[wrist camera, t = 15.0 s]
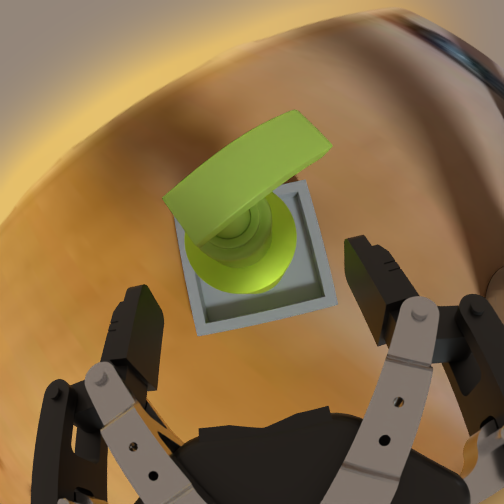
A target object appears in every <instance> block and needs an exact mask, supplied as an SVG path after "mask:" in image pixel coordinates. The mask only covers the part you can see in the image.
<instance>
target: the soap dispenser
mask: <svg viewBox="0 0 504 504" xmlns="http://www.w3.org/2000/svg"><path fill="white" fill-rule="evenodd" d="M331 148H332V144H331V143H330V142H329V141H328V140H327V139H326V138H325V137H324V136H323V135H322V133H321V132H320V131H319V130H318V129H317V128H316V127H315V126H314V125H312V124H311V123H310V122H309V121H308V120H307V119H306V118H305V117H304V116H303V115H302V114H301V113H300V112H299V111H297V110H292V111H289V112H286V113H284V114H282V115H280V116H277V117H275V118H273V119H271V120H269V121H267V122H265V123H263V124H261V125H259V126H257V127H256V128H254V129H252V130H250V131H249V132H247V133H245V134H244V135H242V136H241V137H239V138H237V139H236V140H234V141H233V142H231V143H230V144H228V145H227V146H226V147H224V148H223V149H221V150H220V151H219V152H217V153H216V154H215V155H213V156H212V157H211V158H209V159H208V160H207V161H205V162H204V163H203V164H202V165H200V166H199V167H198V168H197V169H195V170H194V171H193V172H192V173H190V174H189V175H188V176H187V177H186V178H184V179H183V180H182V181H181V182H180V183H178V184H177V185H176V186H175V187H174V188H173V189H171V190H170V191H169V192H168V193H167V194H166V195H165V196H164V197H163V198H162V199H163V201H164V202H165V204H166V205H167V206H168V208H169V209H170V211H171V212H172V214H173V215H174V216H175V218H176V219H177V221H178V222H179V224H180V225H181V226H182V228H183V229H184V231H185V236H184V243H185V250H186V254H187V258H188V260H189V262H190V265H191V266H192V268H193V270H194V271H195V272H196V274H197V275H198V276H199V277H200V278H201V279H202V280H203V281H204V282H206V283H207V284H208V285H210V286H212V287H213V288H215V289H218V290H220V291H223V292H227V293H233V294H259V293H264V292H266V291H269V290H270V289H272V288H273V287H275V286H276V285H277V284H278V283H279V281H280V280H281V278H282V276H283V275H284V273H285V271H286V270H287V268H288V266H289V265H290V263H291V261H292V258H293V256H294V253H295V249H296V242H297V232H296V226H295V222H294V219H293V216H292V214H291V212H290V210H289V208H288V207H287V206H286V204H285V203H284V202H283V201H282V200H281V199H280V198H279V197H278V196H277V195H276V194H275V193H273V192H272V191H273V190H275V189H276V188H277V187H279V186H280V185H282V184H283V183H284V182H286V181H287V180H288V179H290V178H291V177H293V176H294V175H296V174H297V173H299V172H300V171H302V170H303V169H305V168H306V167H308V166H309V165H311V164H312V163H314V162H316V161H317V160H319V159H320V158H322V157H323V156H324V155H325V154H326V153H327V152H328V151H329V150H330V149H331Z"/></svg>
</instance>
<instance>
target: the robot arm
mask: <svg viewBox="0 0 504 504" xmlns="http://www.w3.org/2000/svg"><path fill="white" fill-rule="evenodd" d="M344 261H345V276H346V279H347V282H348V285H349V287H350V289H351V291H352V293H353V295H354V297H355V299H356V301H357V303H358V305H359V307H360V309H361V311H362V314H363V316H364V318H365V320H366V322H367V324H368V326H369V329H370V331H371V333H372V335H373V337H374V340H375V342H376V344H377V346H381V345H384V344H387V346H388V348H389V351H388V354H387V357H386V360H385V363H384V366H383V369H382V371H381V374H380V377H379V380H378V383H377V386H376V388H375V391H374V394H373V396H372V399H371V401H370V404H369V406H368V409H367V411H366V414H365V416H364V419H362V418H360V417H357V416H353V415H349V414H344V413H330V410H329V406H326V407H322V408H318V409H314V410H310V411H306V412H301V413H297V414H294V415H292V416H290V417H288V418H286V419H284V420H281V421H279V422H277V423H275V424H272V425H270V426H268V427H265V428H253V427H242V426H232V425H227V426H219V427H209V428H199V436H198V437H196V438H193V439H191V440H189V441H188V442H186V443H184V442H183V441H182V440H181V439H179V438H178V437H177V436H176V435H175V434H174V433H173V432H172V430H171V429H170V428H169V427H168V425H167V424H166V423H165V422H164V420H163V419H162V418H161V416H160V415H159V414H158V412H157V411H156V410H155V408H154V407H153V406H152V404H151V403H150V401H149V400H148V399H147V398H146V397H147V391H155V390H157V386H158V374H159V364H160V354H161V345H162V336H163V328H164V316H163V313H162V310H161V308H160V306H159V305H158V303H157V301H156V300H155V298H154V296H153V295H152V293H151V291H150V289H149V288H148V286H147V285H145V284H144V285H139V286H135V287H130V288H128V289H127V291H126V295H125V298H124V301H123V302H120V303H119V305H118V306H117V307H116V309H115V310H114V312H113V315H112V319H111V324H110V326H109V330H108V331H109V332H108V333H107V337H106V341H105V345H104V349H103V353H102V357H101V361H100V362H99V363H97V364H95V365H94V366H92V367H91V368H90V369H89V371H88V372H87V374H86V377H85V380H83V381H80V382H78V383H75V384H73V385H69V384H68V383H67V382H66V381H64V380H62V379H57V380H55V381H53V382H52V383H51V384H50V385H49V386H48V387H47V389H46V391H45V394H44V399H43V403H42V408H41V413H40V419H39V424H38V431H37V437H36V444H35V452H34V461H33V471H32V485H31V504H108V503H107V454H108V447H109V449H110V451H111V453H112V454H113V456H114V458H115V459H116V461H117V463H118V464H119V466H120V468H121V469H122V471H123V473H124V474H125V476H126V477H127V479H128V480H129V482H130V483H131V485H132V486H133V488H134V489H135V491H136V492H137V494H138V495H139V498H138V500H137V501H136V502H135V503H134V504H478V503H480V502H481V501H483V500H485V499H486V498H488V497H489V496H491V495H493V494H494V493H496V492H497V491H499V490H500V489H502V488H504V267H503V268H501V269H499V270H498V271H497V272H496V273H495V274H494V275H493V277H492V279H491V281H490V283H489V286H488V289H487V293H486V298H484V297H482V296H480V295H477V294H469V295H466V296H464V297H463V298H462V299H461V301H460V304H459V306H436V304H435V303H434V302H433V301H431V300H430V299H428V298H425V297H421V296H419V295H418V293H417V292H416V290H415V289H414V287H413V286H412V284H411V283H410V281H409V280H408V278H407V277H406V275H405V274H404V272H403V271H402V269H400V267H399V265H398V264H397V262H395V260H394V258H393V257H392V255H391V254H390V253H389V251H387V250H386V249H384V248H383V247H381V246H380V245H374V246H371V244H370V243H369V241H368V240H367V238H366V237H365V236H364V235H360V236H356V237H352V238H348V239H345V241H344ZM432 363H442V365H443V367H444V370H445V372H446V374H447V377H448V379H449V382H450V384H451V386H452V389H453V391H454V394H455V397H456V399H457V402H458V404H459V407H460V410H461V412H462V415H463V418H464V421H465V424H466V427H467V429H468V432H469V435H470V437H469V439H468V440H467V441H466V443H465V446H464V450H463V457H464V466H463V469H462V472H461V474H460V475H458V474H457V473H455V472H453V471H451V470H449V469H447V468H446V467H444V466H442V465H440V464H438V463H436V462H435V461H433V460H431V459H429V458H427V457H426V456H424V455H422V454H420V453H419V452H417V451H415V450H414V449H412V448H411V447H412V444H413V441H414V439H415V436H416V433H417V430H418V426H419V423H420V420H421V417H422V413H423V410H424V406H425V403H426V399H427V395H428V391H429V387H430V383H431V378H432V373H433V367H431V364H432ZM73 425H74V426H76V427H77V434H76V444H75V453H74V452H73V450H72V447H71V440H72V431H73Z"/></svg>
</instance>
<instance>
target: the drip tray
mask: <svg viewBox="0 0 504 504" xmlns="http://www.w3.org/2000/svg"><path fill="white" fill-rule="evenodd" d="M272 192H273V193H275V194H276V195H277V196H278V197H279V198H280V199H281V200H282V201H283V202H284V203H285V204H286V206H287V207H288V208H289V210H290V212H291V214H292V216H293V219H294V222H295V226H296V232H297V242H296V249H295V253H294V256H293V258H292V261H291V263H290V265H289V266H288V268H287V270H286V271H285V273H284V275H283V276H282V278H281V280H280V281H279V283H278V284H277V285H276V286H275V287H273V288H272V289H270V290H269V291H266V292H264V293H259V294H233V293H227V292H223V291H220V290H218V289H215V288H213V287H212V286H210V285H208V284H207V283H206V282H204V281H203V280H202V279H201V278H200V277H199V276H198V275H197V274H196V272H195V271H194V270H193V268H192V266H191V265H190V262H189V260H188V258H187V254H186V250H185V243H184V236H185V231H184V229H183V228H182V226H181V225H180V224H179V222H178V221H177V219H176V218H175V216H174V220H175V226H176V232H177V238H178V243H179V249H180V254H181V260H182V265H183V270H184V275H185V280H186V285H187V290H188V295H189V300H190V305H191V309H192V314H193V318H194V323H195V327H196V331H197V336H202V335H207V334H212V333H218V332H223V331H228V330H233V329H238V328H243V327H247V326H252V325H257V324H261V323H266V322H270V321H274V320H279V319H283V318H287V317H291V316H296V315H300V314H304V313H308V312H312V311H316V310H319V309H323V308H327V307H331V306H335V305H338V302H337V297H336V293H335V288H334V284H333V280H332V276H331V271H330V267H329V263H328V259H327V255H326V251H325V247H324V244H323V240H322V236H321V232H320V229H319V225H318V221H317V218H316V214H315V211H314V207H313V203H312V200H311V197H310V193H309V190H308V186H307V183H306V180H301V181H296V182H291V183H287V184H282V185H280V186H279V187H277V188H276V189H275V190H273V191H272Z"/></svg>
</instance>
